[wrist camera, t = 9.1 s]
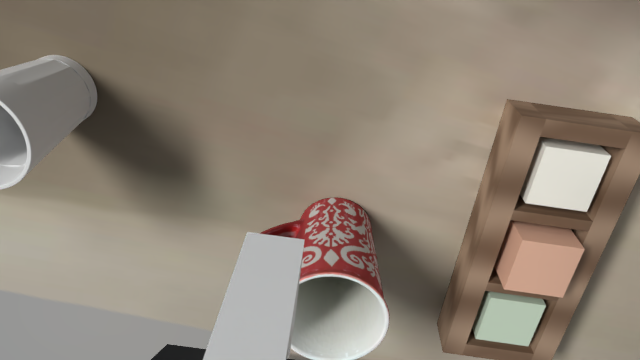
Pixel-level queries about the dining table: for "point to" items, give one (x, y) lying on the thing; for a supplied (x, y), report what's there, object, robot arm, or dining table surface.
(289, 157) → the dining table surface
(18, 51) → the dining table surface
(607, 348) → the dining table surface
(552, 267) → the key terracotta
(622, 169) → the wooden compartment tray
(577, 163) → the key ivory
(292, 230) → the mug
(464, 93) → the dining table surface
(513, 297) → the key sage
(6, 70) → the cup
